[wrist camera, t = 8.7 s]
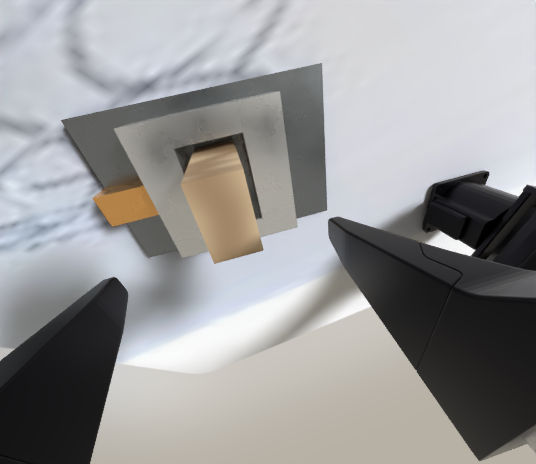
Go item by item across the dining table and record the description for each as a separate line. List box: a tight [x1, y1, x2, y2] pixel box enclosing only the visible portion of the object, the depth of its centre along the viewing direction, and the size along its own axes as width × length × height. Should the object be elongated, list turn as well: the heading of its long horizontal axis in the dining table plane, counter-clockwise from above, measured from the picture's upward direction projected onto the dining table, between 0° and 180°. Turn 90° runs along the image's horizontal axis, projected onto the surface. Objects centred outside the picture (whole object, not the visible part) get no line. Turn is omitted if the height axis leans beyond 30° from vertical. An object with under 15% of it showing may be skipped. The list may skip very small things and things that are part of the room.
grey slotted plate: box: [61, 63, 327, 258], centre depth 17 cm, size 18×12×4 cm, turn 101°
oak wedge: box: [180, 140, 263, 264], centre depth 15 cm, size 3×5×8 cm, turn 11°
